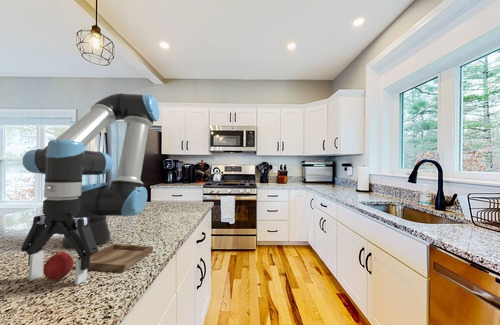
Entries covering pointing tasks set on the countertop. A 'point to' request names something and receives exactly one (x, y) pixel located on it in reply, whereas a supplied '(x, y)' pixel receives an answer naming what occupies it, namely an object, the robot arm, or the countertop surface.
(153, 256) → the countertop surface
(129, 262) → the tray
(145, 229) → the countertop surface
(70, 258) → the red fruit
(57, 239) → the countertop surface
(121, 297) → the countertop surface
